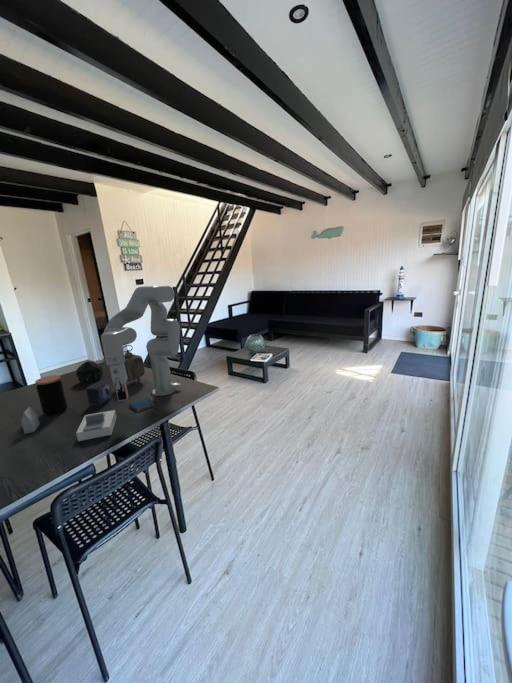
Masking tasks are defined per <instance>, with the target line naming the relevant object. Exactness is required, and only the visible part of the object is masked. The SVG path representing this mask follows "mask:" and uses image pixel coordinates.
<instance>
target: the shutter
mask: <svg viewBox="0 0 512 683" xmlns="http://www.w3.org/2000/svg"><path fill="white" fill-rule="evenodd" d="M97 413H98V414H95V413H92V414H93V415H89V414H86V415H87V416H85V415H84V416H85V418H86V425H85V427H84V430H83V431H84V432H85V431H90V430H96V429H101V428H102V427H103V424H104V421H105V419H104V414H103V413H101V412H97Z"/></svg>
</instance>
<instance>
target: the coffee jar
mask: <svg viewBox="0 0 512 683" xmlns="http://www.w3.org/2000/svg"><path fill="white" fill-rule="evenodd" d="M34 383H35V385H36V388H35V389H36V391H37V394H38V400H39V403H40V406H41V410H42V413H43V414H44V415H45V416H49V417H53V416H56V415H57V416H58V415H61V414H62V413H64V412H66V411H67V409H68V401H67V397H66V394H65V389H64V386H63V381H62V380H61V375H57V374H56V375H55V374H54V375H53V374H52V375H48V376H43V377H40V378H38V379H36V380H35V381H34Z"/></svg>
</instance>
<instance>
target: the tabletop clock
mask: <svg viewBox="0 0 512 683" xmlns="http://www.w3.org/2000/svg"><path fill="white" fill-rule="evenodd" d="M122 347H123V349H124V348H126V347H131V349H126V350H123V352H124V357H125V362H124V365H125V369H126V373H127V377H128V378H127V382H131V381H133V384H134V385H137V384H138V382H137V381H136V380H138V381H140V380H141V377H143V376H144V375H145V372H146V371H145V364H144V360H143V357H142V356H141V355H137V354H133V353H132V352H131V351H132V350H133V349H134V347H133V345H131V344H126V345H123V346H122Z"/></svg>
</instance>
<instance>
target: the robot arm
mask: <svg viewBox="0 0 512 683" xmlns="http://www.w3.org/2000/svg"><path fill="white" fill-rule="evenodd" d="M174 298H175V290H174V288H173V287H172V286H171V285H145V286H138V287H136V289H134V292H133V293H132V294H131V297H130V299H129V300H128V303H127V305H126V306H125V308H123V309H122V310H120V311H119V312H117V313H116V314H115V315H113V316H112V317H111V318H110V319H109V321H108V322H107V324H106V326H105V328H104V329H103V333H102V334H101V335H100V339H101V345H102V349H103V354H104V358H105V364H106V366H107V367H108V366H109V370H110V376H111V380H112V385H113V387H114V388H115V387H116V388H117V393H116V395H117V394H118V398H117V400H118V399H119V400H123V401H125V400H124V399H126V393H125V391H124V387H123V385H126V386H127V382H128V381H127V378H128V377H127V373H126V369H125V365H124V362H125V357H124V355H125V352H123V351H124V348H123V347H124V346H126V345H131V344H133V343H134V342H135V341H136V340H137V336H138V334H137V332H136V329H134V328H132V327H127V326H126V325H127V324H129V323H131V322H135V321H137V320H139V319H141V318H142V317H143V316H144V315H145V312H146V310H147V308H148V306H149V308H150V334H152V335H153V336H155V337H159V338H151V339H149V340H148V341H147V342H146V351H147V354H148V357H149V360H150V366H151V372H152V381H153V385H154V389H152V395H153V396H156V397H163V396H165V397H166V396H169V395H171V394H173V393H175V391H176V388H181V384H180V383H178V382H173V381H172V377H171V370H170V361H169V359H168V358H167V357H174V356H176V355H177V354H179V351H180V350H179V349H180V338H181V337H180V336H181V335H180V333H181V328H180V322H179V321H178V320H177V319H174V318H168V310H167V307H166V306H165V304H164V303H170V302H172V301H173V300H174ZM124 326H125V327H124ZM162 337H167V338H162ZM120 384H122V385H120ZM120 386H122V388H121V387H120Z"/></svg>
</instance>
